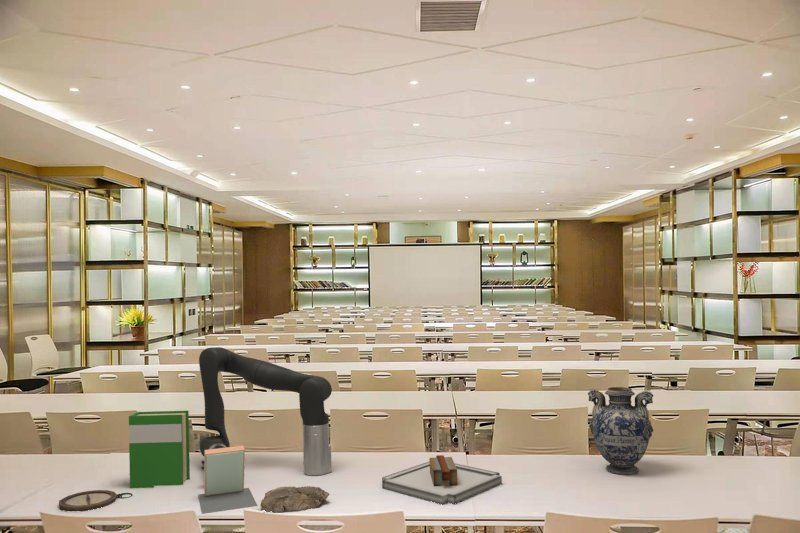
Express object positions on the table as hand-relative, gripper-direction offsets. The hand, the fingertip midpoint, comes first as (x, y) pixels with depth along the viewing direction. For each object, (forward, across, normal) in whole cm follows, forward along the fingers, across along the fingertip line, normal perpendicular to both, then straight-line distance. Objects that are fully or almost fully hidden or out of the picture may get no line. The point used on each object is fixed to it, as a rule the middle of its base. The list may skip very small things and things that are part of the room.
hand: (223, 469), depth 208 cm
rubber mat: (+8, 0, +8) cm, 11 cm away
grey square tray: (+20, +67, +9) cm, 71 cm away
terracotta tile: (0, 0, +7) cm, 7 cm away
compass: (-10, -39, +9) cm, 41 cm away
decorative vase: (+33, +129, +8) cm, 134 cm away
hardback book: (-21, -19, +8) cm, 30 cm away
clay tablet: (+19, +20, +9) cm, 28 cm away
